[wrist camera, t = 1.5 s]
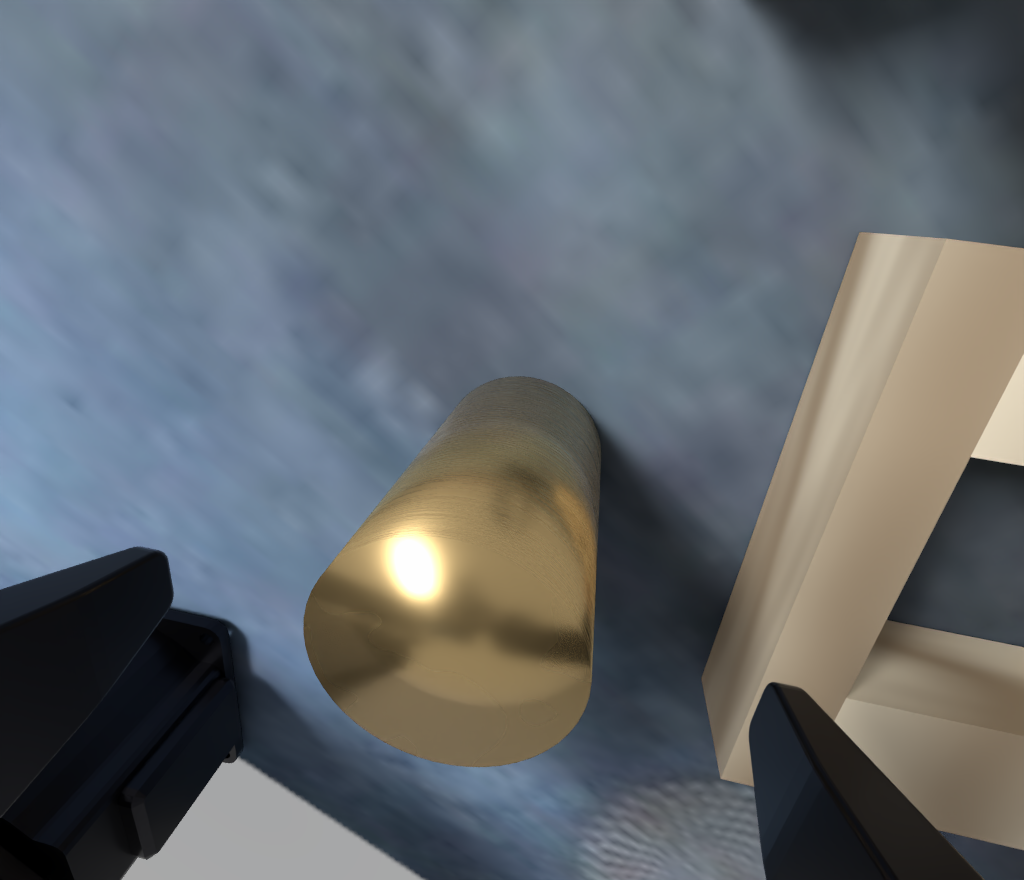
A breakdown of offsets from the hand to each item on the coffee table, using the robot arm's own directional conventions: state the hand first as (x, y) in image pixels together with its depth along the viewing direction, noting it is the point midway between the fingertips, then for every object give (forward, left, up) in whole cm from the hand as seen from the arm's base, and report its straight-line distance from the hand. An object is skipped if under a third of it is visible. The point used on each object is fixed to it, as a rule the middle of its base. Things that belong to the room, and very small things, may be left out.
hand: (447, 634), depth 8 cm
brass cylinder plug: (0, 0, -6) cm, 6 cm away
